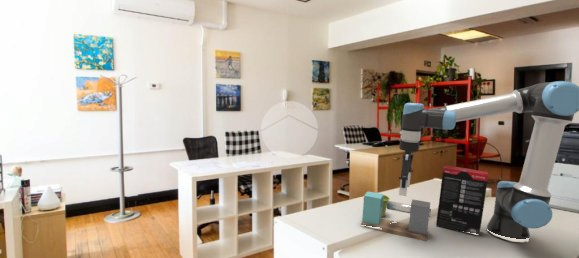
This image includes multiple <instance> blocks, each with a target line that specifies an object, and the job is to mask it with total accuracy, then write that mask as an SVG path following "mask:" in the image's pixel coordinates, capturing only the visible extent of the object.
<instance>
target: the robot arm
mask: <svg viewBox="0 0 579 258" xmlns="http://www.w3.org/2000/svg"><path fill="white" fill-rule="evenodd" d="M402 112H403V113H402V118H401V119H402V120H401V131H399V135H400V140H399V146H398V147H399V150H401V151H404V153H403V154H402V162H401V163H402V164H401V165H402V166H401V173H400V176H399V177H398V180H400V182H399V190H398V195H399V196H403V197H407V193H408V192H407V191H408V188H410V185H411V174H412V173H413V171H414V170H413V169H412V167H413V166H412V164H413V161H414V157H415V156H414V154H413V153H417V152H419V150H420V141H421V134H422V128H425V129H426V128H429V129H435V130H436V129H438V130H439V129H440V130H454V128H455V126H456V123H458V122H462V121H463V122H464V121H469V120H475V119H480V118H486V117H491V116H492V117H493V116H498V115H502V114H503V115H504V114H509V113H518V114H523V113H531V118H533V120H534V125H533V128H532V131H531V136H530V140H529V144H528V148H527V151H526V156H525V159H524V164H523V167H522V170H521V175H520V178H519V180H518V182H516V181H507V180H501V181H498V183H497V186H496V192H495V199H494V200H495V201H494V207H493V208H494V209H493V213H492V214H493V215H492V216H491V218H490V219H489V221H488V223H487V225H486V230H487V229H488V230H489V231H491V232H493V233H495V234H498V235H501V236H505V237H510V238H516V239H526V238H529V237H530V238H531V234H530V229H540V228H542V227H545V226H547V225H548V224H550V222H551V220H552V218H553V210H552V207H551V206H550V202H551V197H552V194H551V193H550V191H549V190H548V189H549V185H550V180H551V177H552V173H553V170H554V167H555V164H556V163H555V162H556V159H557V155H558V153H559V148H560V145H561V142H562V138H563V135H564V130H565V127H566V126H567V125H569V124H571V123H572V122H573V120H574V118H575V117H574V116H575V114H576V113H578V112H579V86H578V84H576V83H573V82H570V81H564V80H558V81H550V82H548V81H547V82H540V83H536V84H533V85H530V86H527V87H524V88H523V87H522V88H519V89H514V90H513V91H512V92H511V93H505V94H500V95H495V96H490V97H486V98H480V99H476V100H471V101H465V102H460V103H455V104H449V105H445V106H439V107H431V108H429V109H428V108H425V106H424V104H423V103H416V102H415V103H414V102H407V103H405V104H404V105H403V110H402Z"/></svg>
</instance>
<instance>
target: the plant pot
mask: <svg viewBox="0 0 579 258" xmlns="http://www.w3.org/2000/svg"><path fill="white" fill-rule="evenodd" d="M388 201H390V196H388V195H386V194H385V195H384V194H383V206H382V217H385V216H386V211H387V202H388ZM384 215H385V216H384Z"/></svg>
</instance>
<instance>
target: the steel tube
mask: <svg viewBox="0 0 579 258" xmlns="http://www.w3.org/2000/svg"><path fill="white" fill-rule="evenodd" d="M386 210H390V211H393V212H394V211H396V212H401V213H405V214H410V210H411V204H407V203H401V202H396V201H390V200H389V201H388V202H387V207H386ZM431 211H432V209H431V208H430V211H429V218H431V213H432V212H431Z"/></svg>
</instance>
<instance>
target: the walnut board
mask: <svg viewBox="0 0 579 258" xmlns="http://www.w3.org/2000/svg"><path fill="white" fill-rule="evenodd" d="M394 221H395V220H390V219H385V218H381V221H380V223H379V225H374V224H369V223H365V222H362V221H361V223H360V226H361V225H366V226H372V227H380V228H382V231H381V232H384V233H389V234H392V235H398V236H402V237H405V238H410V239H411V238H412V239H414V240H420V241H424V242H427V239H428V235H427V236H424V235H420V234H415V233H411V232H408V230H409V223H404V222H400V221H396V222H397V223H392V222H394ZM390 223H391V224H390Z"/></svg>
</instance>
